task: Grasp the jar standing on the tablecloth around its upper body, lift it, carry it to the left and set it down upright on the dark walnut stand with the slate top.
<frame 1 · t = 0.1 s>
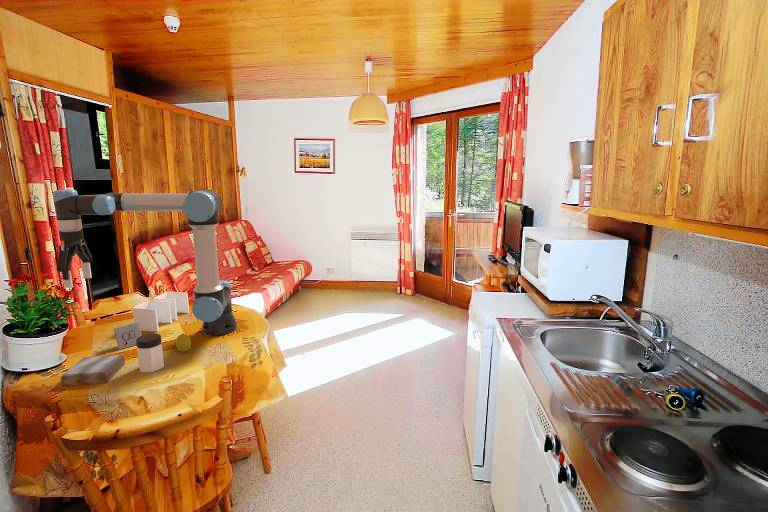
hand: (78, 282, 163), 28 cm above the table, fingers open, 13 cm apart
lemon: (184, 352, 167), on the table
electrical switch: (128, 345, 172), on the table
white domino row: (163, 321, 199), on the table
jar: (152, 367, 154), on the table
stand: (95, 374, 148), on the table
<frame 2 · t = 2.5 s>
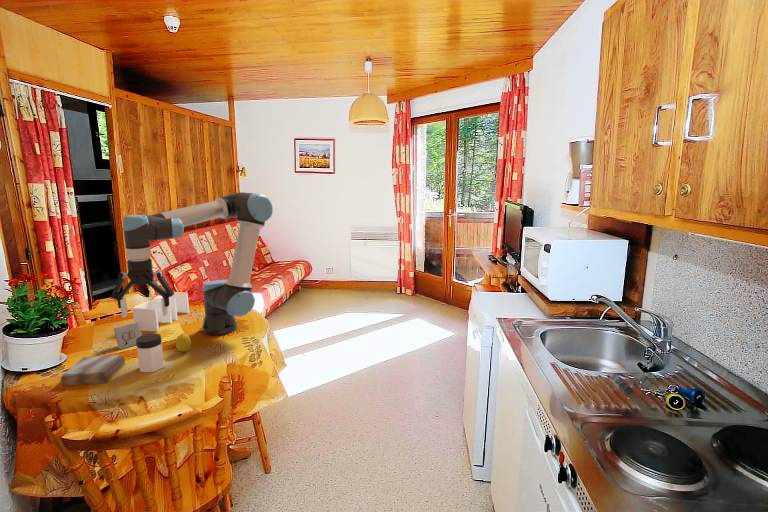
hand: (145, 315, 149), 21 cm above the table, fingers open, 13 cm apart
nothing on the table moved.
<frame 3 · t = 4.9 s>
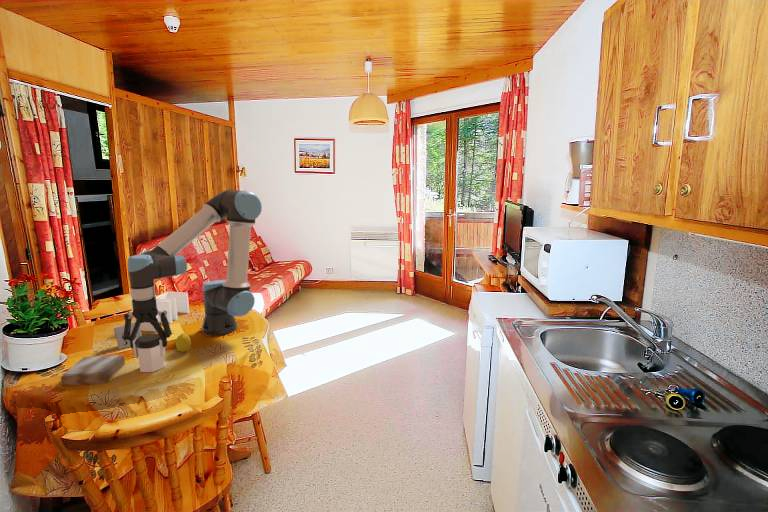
hand: (150, 355, 153), 5 cm above the table, fingers closed on jar, 8 cm apart
jar: (152, 367, 154), on the table, touching gripper
everything else where it was.
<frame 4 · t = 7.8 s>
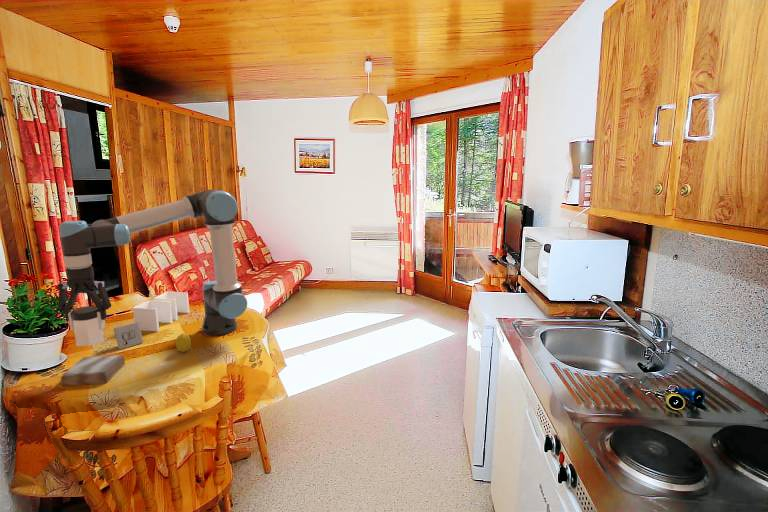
hand: (88, 328, 144), 18 cm above the table, fingers closed on jar, 8 cm apart
jar: (90, 342, 145), point 13 cm above the table, touching gripper
everything else where it was.
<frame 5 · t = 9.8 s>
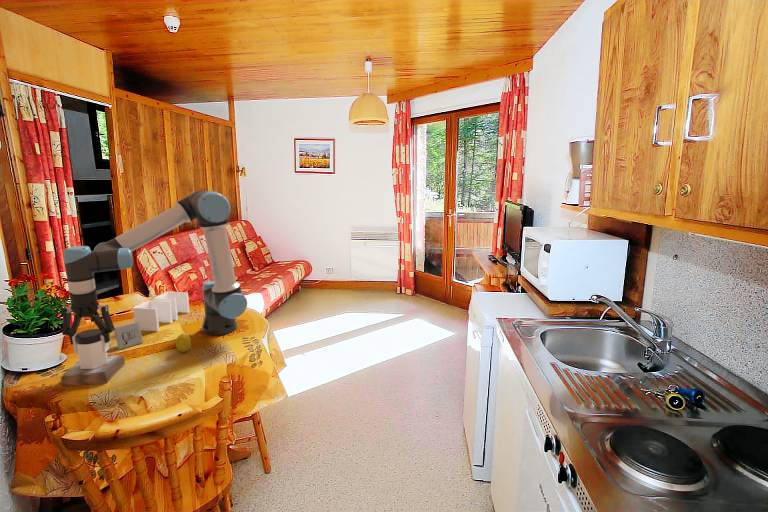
hand: (92, 351, 146), 9 cm above the table, fingers closed on jar, 8 cm apart
jar: (94, 364, 147), point 4 cm above the table, touching gripper
everything else where it was.
when the fingers open (9 cm above the table, at t = 10.9 s): jar stays where it is, resting on stand.
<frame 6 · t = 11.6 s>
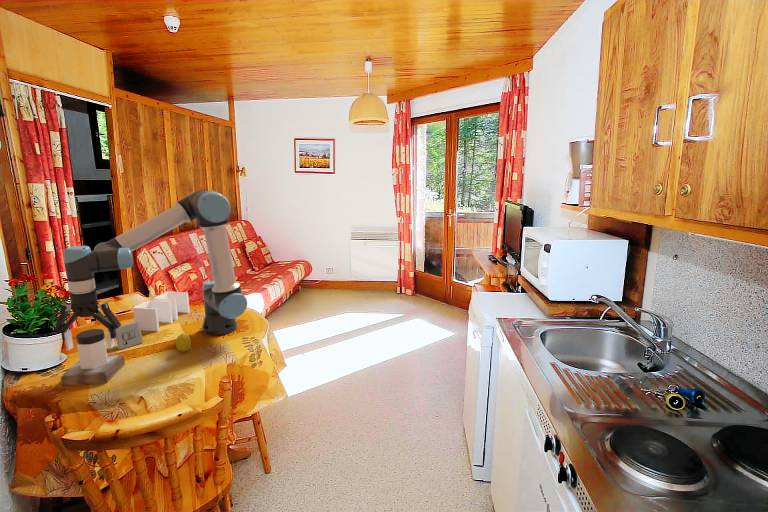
hand: (91, 347, 146), 10 cm above the table, fingers open, 13 cm apart
jar: (94, 364, 147), point 4 cm above the table, touching stand
everything else where it was.
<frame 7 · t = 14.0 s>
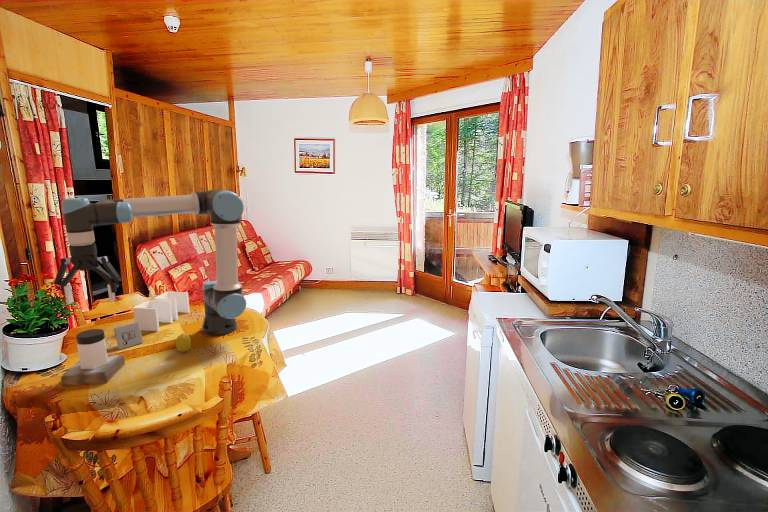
hand: (91, 302, 145), 27 cm above the table, fingers open, 13 cm apart
nothing on the table moved.
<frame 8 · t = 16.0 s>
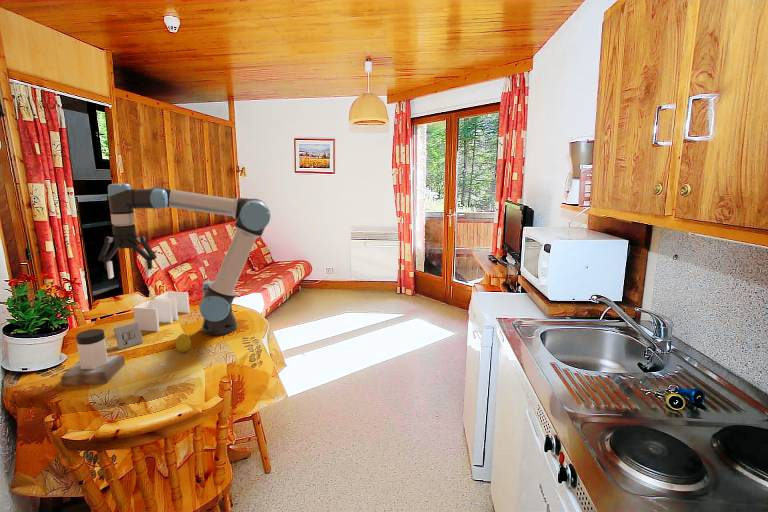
hand: (130, 277, 162), 31 cm above the table, fingers open, 13 cm apart
nothing on the table moved.
at the end: jar inside the target area on the stand (0.3 cm from its centre), point 3.8 cm above the stand's base; jar tilted 0°; the gripper is holding nothing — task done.
